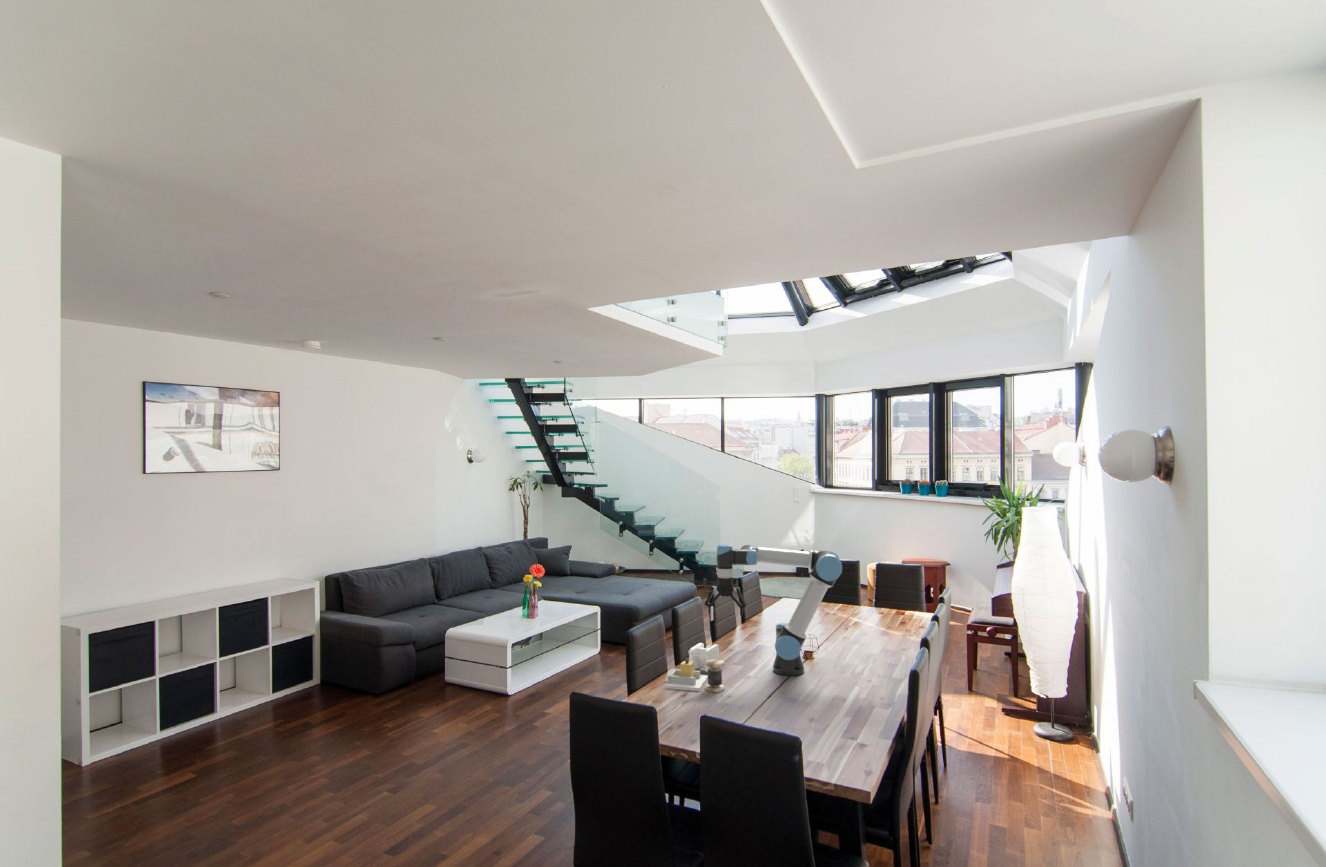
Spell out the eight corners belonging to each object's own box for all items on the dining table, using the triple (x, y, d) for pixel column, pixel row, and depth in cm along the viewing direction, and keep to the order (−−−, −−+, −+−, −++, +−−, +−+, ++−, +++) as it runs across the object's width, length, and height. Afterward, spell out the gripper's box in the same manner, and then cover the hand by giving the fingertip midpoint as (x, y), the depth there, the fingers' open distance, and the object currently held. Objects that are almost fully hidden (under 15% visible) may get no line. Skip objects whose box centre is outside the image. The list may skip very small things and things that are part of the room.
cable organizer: (707, 675, 325) (707, 651, 325) (688, 672, 330) (687, 648, 330) (719, 666, 338) (719, 643, 339) (700, 664, 343) (700, 641, 343)
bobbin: (726, 686, 309) (726, 660, 309) (722, 693, 300) (722, 666, 301) (707, 684, 312) (707, 658, 312) (703, 691, 303) (702, 664, 303)
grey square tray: (708, 678, 320) (708, 669, 320) (699, 691, 303) (699, 681, 303) (675, 676, 325) (675, 666, 325) (665, 688, 307) (665, 678, 307)
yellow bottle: (693, 679, 315) (693, 657, 316) (691, 682, 311) (690, 660, 311) (683, 678, 317) (683, 656, 317) (680, 681, 312) (680, 659, 312)
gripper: (751, 576, 325) (752, 620, 324) (701, 574, 331) (702, 617, 331) (749, 579, 317) (750, 624, 317) (698, 577, 324) (698, 621, 323)
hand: (725, 621), depth 324 cm, fingers open, 13 cm apart
